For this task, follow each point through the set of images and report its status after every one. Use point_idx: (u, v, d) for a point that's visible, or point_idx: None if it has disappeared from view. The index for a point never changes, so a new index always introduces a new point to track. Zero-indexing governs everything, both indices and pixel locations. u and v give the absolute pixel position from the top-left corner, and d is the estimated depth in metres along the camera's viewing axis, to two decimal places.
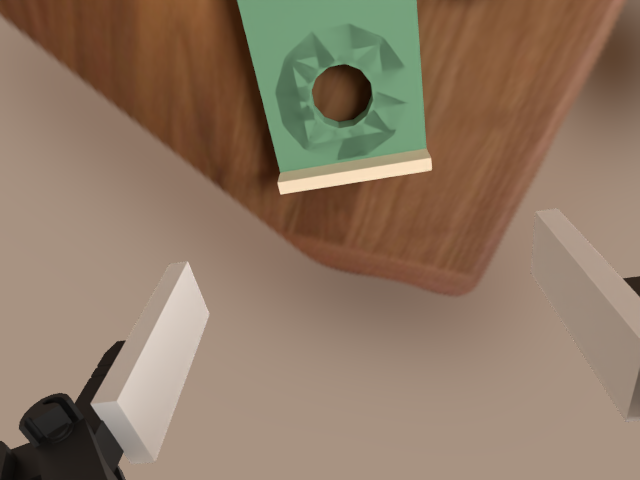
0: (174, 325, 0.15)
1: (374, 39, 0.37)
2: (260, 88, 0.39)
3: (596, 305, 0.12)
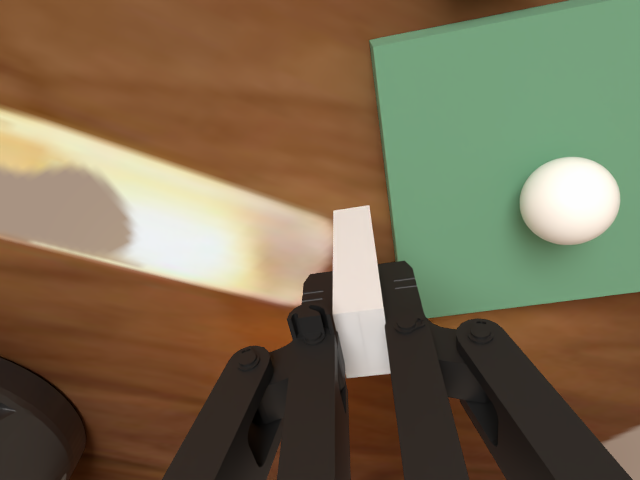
0: None
1: None
2: None
3: None
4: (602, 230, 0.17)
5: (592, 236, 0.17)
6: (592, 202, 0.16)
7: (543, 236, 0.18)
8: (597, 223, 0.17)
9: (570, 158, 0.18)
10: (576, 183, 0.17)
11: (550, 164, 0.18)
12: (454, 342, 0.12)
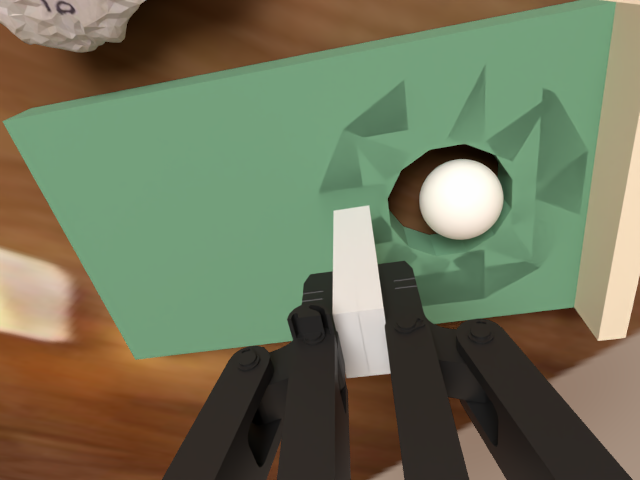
0: None
1: (346, 147, 0.19)
2: None
3: None
4: (497, 218, 0.19)
5: (492, 225, 0.19)
6: (490, 194, 0.18)
7: (453, 235, 0.19)
8: (495, 212, 0.19)
9: (456, 161, 0.19)
10: (473, 181, 0.18)
11: (442, 169, 0.19)
12: (454, 342, 0.12)
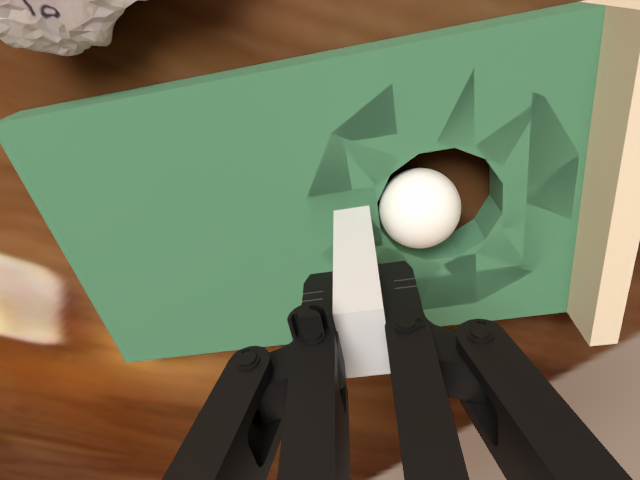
0: None
1: (335, 151, 0.18)
2: None
3: None
4: (432, 238, 0.19)
5: (424, 242, 0.19)
6: (416, 211, 0.18)
7: None
8: (421, 230, 0.19)
9: (418, 169, 0.19)
10: (407, 193, 0.18)
11: (401, 173, 0.20)
12: (454, 342, 0.12)
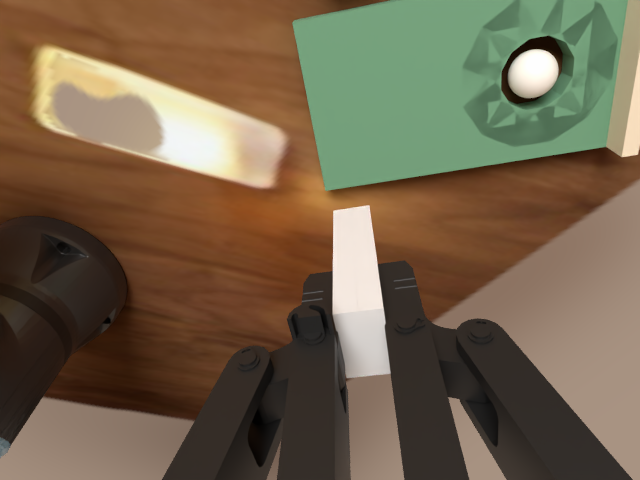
0: None
1: (482, 37, 0.33)
2: (507, 161, 0.38)
3: None
4: (550, 84, 0.34)
5: (545, 88, 0.34)
6: (544, 67, 0.33)
7: (520, 92, 0.35)
8: (546, 79, 0.33)
9: (533, 49, 0.34)
10: (536, 58, 0.33)
11: (523, 53, 0.34)
12: (454, 342, 0.12)
